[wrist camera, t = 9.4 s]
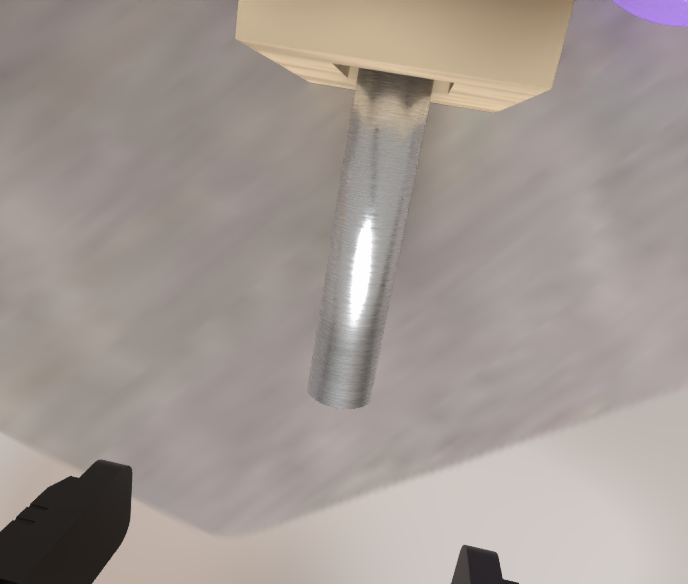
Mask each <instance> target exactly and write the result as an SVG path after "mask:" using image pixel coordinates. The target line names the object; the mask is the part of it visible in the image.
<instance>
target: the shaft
mask: <svg viewBox="0 0 688 584" xmlns="http://www.w3.org/2000/svg"><path fill="white" fill-rule="evenodd" d="M433 84H434V79H427V78H421V77H415V76H409V75H403V74H396V73H390V72H384V71H378V70H372V69H365V68H359V69H358V75H357V81H356V88H355V94H354V100H353V106H352V113H351V119H350V125H349V131H348V138H347V144H346V150H345V156H344V163H343V169H342V175H341V181H340V188H339V194H338V200H337V206H336V213H335V219H334V225H333V231H332V238H331V244H330V250H329V256H328V263H327V269H326V275H325V281H324V288H323V294H322V300H321V306H320V313H319V319H318V325H317V331H316V338H315V344H314V350H313V356H312V363H311V369H310V375H309V381H308V392H309V394H310V395H311V397H313V398H314V399H315V400H317V401H318V402H320V403H322V404H325V405H327V406H330V407H334V408H341V409H355V408H360V407H363V406H365V405H367V404H368V403H369V402H370V399H371V394H372V389H373V384H374V379H375V374H376V369H377V364H378V359H379V354H380V349H381V344H382V339H383V334H384V329H385V324H386V319H387V314H388V309H389V304H390V299H391V294H392V289H393V284H394V279H395V274H396V269H397V264H398V259H399V254H400V249H401V244H402V239H403V234H404V229H405V224H406V219H407V214H408V209H409V204H410V199H411V194H412V189H413V184H414V179H415V174H416V169H417V164H418V159H419V154H420V149H421V144H422V139H423V134H424V129H425V124H426V119H427V114H428V109H429V104H430V99H431V94H432V89H433Z"/></svg>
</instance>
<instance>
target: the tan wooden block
mask: <svg viewBox="0 0 688 584" xmlns="http://www.w3.org/2000/svg"><path fill="white" fill-rule="evenodd" d="M574 1H575V0H239V4H238V14H237V25H236V35H235V39H237V40H239V41H240V42H242V43H244V44H245V45H247V46H249V47H251V48H252V49H254V50H256V51H257V52H259V53H261V54H262V55H264V56H266V57H268V58H269V59H271V60H273V61H274V62H276V63H278V64H279V65H281V66H283V67H285V68H286V69H288V70H290V71H291V72H293V73H295V74H296V75H298V76H300V77H302V78H303V79H305V80H307V81H308V82H311V83H317V84H324V85H330V86H336V87H342V88H348V89H354V90H355V88H356V81H357V75H358V69H359V68H365V69H372V70H378V71H384V72H390V73H396V74H403V75H409V76H415V77H421V78H427V79H434V84H433V89H432V94H431V99H430V102H433V103H439V104H445V105H451V106H457V107H463V108H469V109H475V110H481V111H487V112H494V113H496V112H499V111H501V110H503V109H506V108H508V107H510V106H513V105H515V104H517V103H520V102H522V101H524V100H527V99H529V98H531V97H534V96H536V95H539V94H541V93H543V92H546V91H548V90H550V89H552V85H553V81H554V78H555V74H556V70H557V66H558V62H559V58H560V55H561V51H562V47H563V43H564V39H565V36H566V32H567V28H568V24H569V20H570V16H571V13H572V9H573V5H574Z"/></svg>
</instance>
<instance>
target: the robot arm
mask: <svg viewBox="0 0 688 584" xmlns="http://www.w3.org/2000/svg"><path fill="white" fill-rule="evenodd" d="M131 493H132V469H131V467H130V466H127V465H123V464H118V463H114V462H110V461H105V460H98V461H96V462H95V463H94V464H93V465H92V466H91V467H90V468H89V469H88V470H87V471H86V472H85V473H84V474H82V475H81V477H79V478H77V477H72V476H69V477H67V478H66V479H64V480H62V481H60V482H58V483H56V484H54V485H52V486H50V487H48V488H47V489H46V490H45V491H44V492H42V493H41V494H40V495H39V496H38V497H37V498H36V499H35V500H34V501H33V502H32V503H31V504H30V506H29V507H26V508H25V509H24V510H23V511H22V512H21V513H20V514H19V515H18V516H17V517H16V519H15V521H14V520H13V521H11V522H10V523H9V524H8V525H7V526H6V527H5V528H4V529H3V530H2V531H1V532H0V584H92V583H93V582H94V580H95V579H96V577H97V576H98V575H99V573H100V572H101V571H102V569H103V568H104V567H105V565H106V564H107V562H108V561H109V560H110V559H111V557H112V556H113V554H114V553H115V552H116V550H117V549H118V548H119V546H120V545H121V543H122V541H123V539H124V537H125V535H126V533H127V530H128V526H129V522H130V514H131ZM451 584H519V583H517V582H513V581H508V580H504V579H503V578H502V573H501V568H500V562H499V558H498V555H497V553H496V552H493V551H489V550H484V549H480V548H476V547H472V546H467V545H463V546H462V548H461V551H460V554H459V558H458V562H457V565H456V569H455V572H454V576H453V579H452V583H451Z"/></svg>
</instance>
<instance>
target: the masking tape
mask: <svg viewBox="0 0 688 584" xmlns="http://www.w3.org/2000/svg"><path fill="white" fill-rule="evenodd" d="M612 1H613V2H615V3H616V4H617V5H618V6H620V7H621V8H622V9H624V10H625V11H627V12H629V13H631V14H633V15H635V16H637V17H639V18H642V19H644V20H647V21H650V22H654V23H658V24H663V25H669V26H688V0H612Z"/></svg>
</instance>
